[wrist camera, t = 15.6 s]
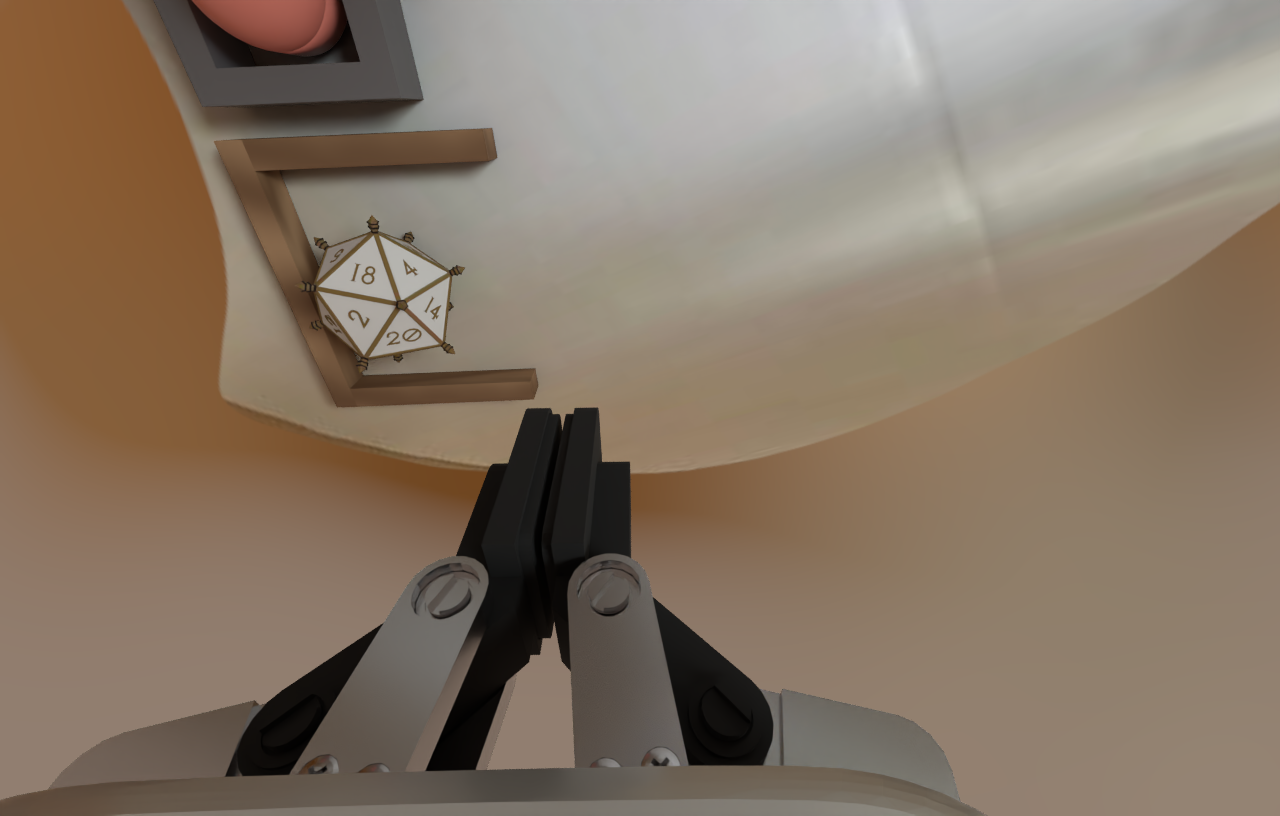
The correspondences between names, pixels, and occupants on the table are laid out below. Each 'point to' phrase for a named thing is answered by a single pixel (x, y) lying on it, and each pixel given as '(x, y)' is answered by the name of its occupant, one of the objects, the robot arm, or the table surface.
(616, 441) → the table surface
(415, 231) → the table surface
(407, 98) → the dome housing
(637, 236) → the table surface
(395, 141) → the frame
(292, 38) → the dome button
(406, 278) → the game die
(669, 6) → the table surface
